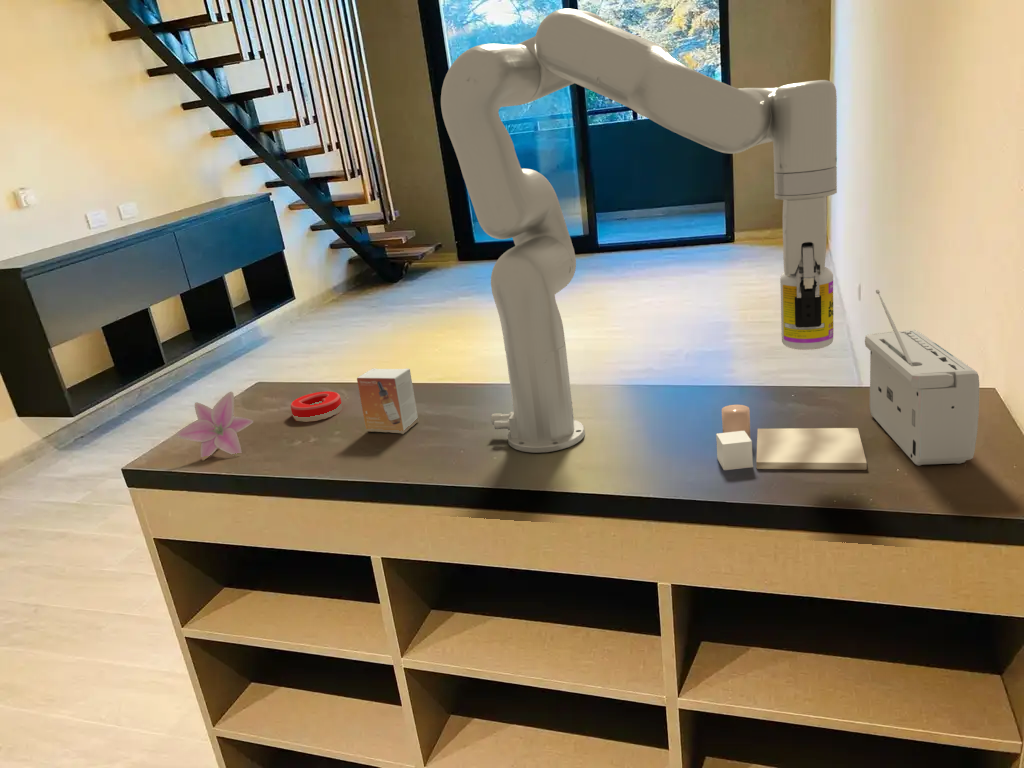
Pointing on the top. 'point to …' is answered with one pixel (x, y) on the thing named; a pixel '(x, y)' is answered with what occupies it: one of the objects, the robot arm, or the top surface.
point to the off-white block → (734, 450)
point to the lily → (216, 427)
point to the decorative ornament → (304, 408)
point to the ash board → (810, 449)
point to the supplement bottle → (790, 333)
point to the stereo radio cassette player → (923, 396)
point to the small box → (387, 399)
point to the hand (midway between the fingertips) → (807, 317)
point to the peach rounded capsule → (736, 419)
